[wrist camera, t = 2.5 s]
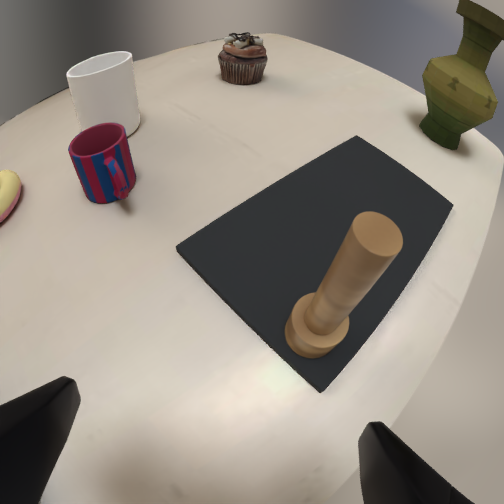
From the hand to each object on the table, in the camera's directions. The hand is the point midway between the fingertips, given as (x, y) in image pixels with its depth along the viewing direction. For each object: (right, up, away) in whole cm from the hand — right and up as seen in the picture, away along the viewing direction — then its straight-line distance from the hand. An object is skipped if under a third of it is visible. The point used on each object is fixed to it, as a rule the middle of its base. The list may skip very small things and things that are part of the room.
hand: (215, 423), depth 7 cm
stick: (+6, -2, +16) cm, 17 cm away
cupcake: (-1, +39, +45) cm, 60 cm away
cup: (-15, +12, +25) cm, 31 cm away
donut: (-34, +11, +22) cm, 42 cm away
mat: (+12, +8, +24) cm, 28 cm away
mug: (-21, +24, +33) cm, 46 cm away
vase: (+39, +28, +41) cm, 63 cm away
